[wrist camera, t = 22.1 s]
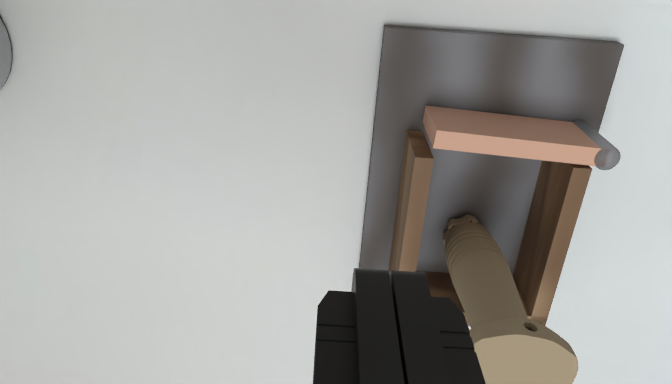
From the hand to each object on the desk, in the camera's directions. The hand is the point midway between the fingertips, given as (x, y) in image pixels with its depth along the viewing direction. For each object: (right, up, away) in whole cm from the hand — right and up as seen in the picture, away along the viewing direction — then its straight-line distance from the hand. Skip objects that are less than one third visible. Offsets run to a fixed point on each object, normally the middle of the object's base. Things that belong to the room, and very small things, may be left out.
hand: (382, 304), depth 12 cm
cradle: (+10, +3, +31) cm, 32 cm away
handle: (+9, -1, +32) cm, 33 cm away
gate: (+11, +7, +27) cm, 30 cm away
